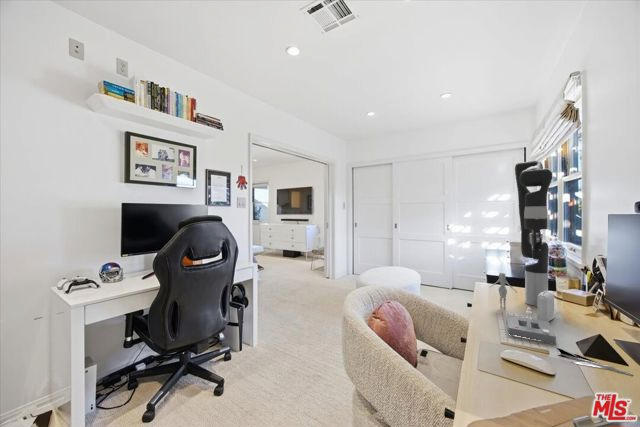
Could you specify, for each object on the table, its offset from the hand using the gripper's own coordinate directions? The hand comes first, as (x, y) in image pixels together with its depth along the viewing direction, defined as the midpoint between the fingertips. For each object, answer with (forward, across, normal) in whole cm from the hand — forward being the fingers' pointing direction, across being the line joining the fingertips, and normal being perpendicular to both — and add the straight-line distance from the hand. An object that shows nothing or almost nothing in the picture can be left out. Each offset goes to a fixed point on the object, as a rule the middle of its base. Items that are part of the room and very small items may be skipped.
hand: (536, 259), depth 108 cm
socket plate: (+29, +5, -3) cm, 30 cm away
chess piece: (+29, +5, -3) cm, 30 cm away
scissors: (+30, +22, +9) cm, 38 cm away
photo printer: (+29, -16, +5) cm, 34 cm away
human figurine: (+29, -21, -11) cm, 38 cm away
